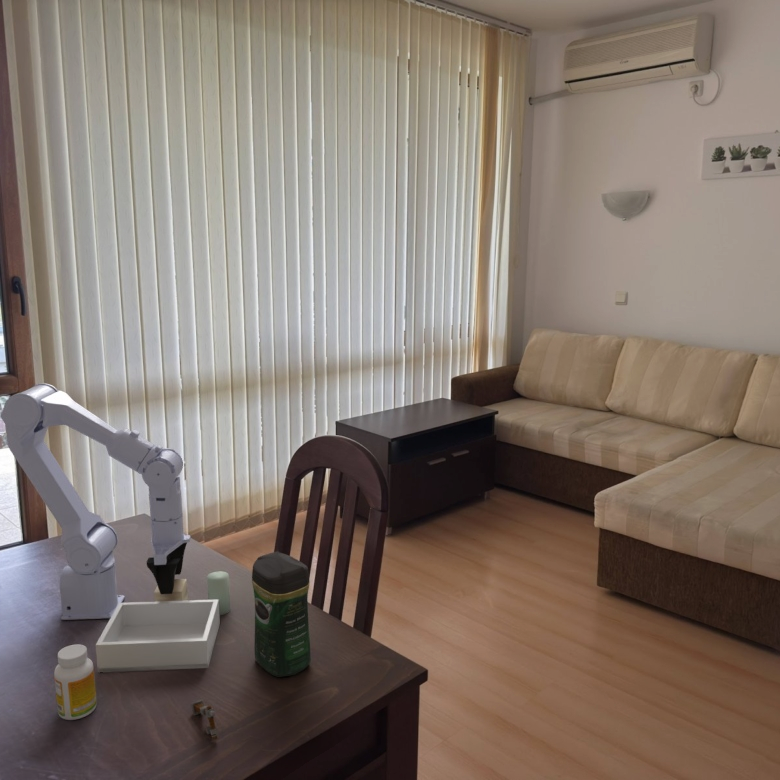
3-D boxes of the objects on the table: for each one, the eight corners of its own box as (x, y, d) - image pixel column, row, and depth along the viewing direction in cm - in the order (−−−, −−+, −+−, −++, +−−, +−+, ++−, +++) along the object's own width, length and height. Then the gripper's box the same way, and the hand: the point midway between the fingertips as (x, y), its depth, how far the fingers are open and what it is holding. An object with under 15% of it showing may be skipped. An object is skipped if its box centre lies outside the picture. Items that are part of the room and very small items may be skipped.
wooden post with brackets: (210, 742, 100) (205, 709, 101) (195, 733, 107) (190, 701, 108) (223, 738, 101) (217, 705, 102) (207, 728, 108) (202, 697, 108)
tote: (97, 672, 117) (95, 645, 116) (121, 627, 130) (119, 602, 129) (207, 668, 119) (206, 640, 118) (219, 624, 132) (218, 599, 131)
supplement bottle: (103, 699, 111) (98, 642, 108) (85, 722, 105) (80, 663, 103) (70, 696, 111) (64, 640, 109) (50, 719, 106) (44, 660, 104)
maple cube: (155, 616, 134) (154, 592, 133) (161, 603, 139) (160, 579, 138) (183, 615, 135) (181, 591, 134) (188, 602, 140) (186, 578, 139)
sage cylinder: (207, 615, 135) (205, 581, 133) (210, 605, 139) (208, 571, 137) (228, 615, 135) (227, 580, 134) (231, 604, 139) (230, 571, 138)
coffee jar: (318, 666, 119) (317, 563, 115) (277, 685, 114) (274, 577, 110) (287, 641, 127) (285, 543, 123) (247, 658, 122) (243, 556, 118)
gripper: (180, 530, 126) (185, 601, 129) (195, 500, 140) (199, 565, 143) (139, 532, 126) (145, 603, 129) (158, 501, 140) (163, 566, 143)
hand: (171, 583), depth 136 cm, fingers open, 7 cm apart
